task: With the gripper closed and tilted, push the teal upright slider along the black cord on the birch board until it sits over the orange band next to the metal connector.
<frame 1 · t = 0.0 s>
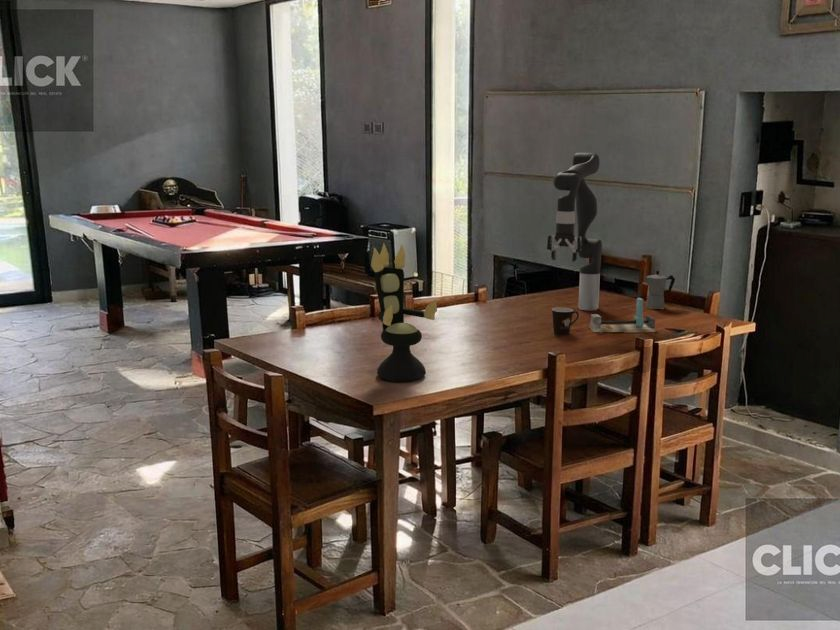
hand: (563, 260, 353), 29 cm above the table, tool pointing down, fingers open, 8 cm apart
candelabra: (397, 375, 292), on the table
cord board: (621, 330, 358), on the table
coffee mug: (565, 333, 352), on the table
coffeepot: (657, 308, 402), on the table
teal upright slider: (639, 312, 357), point 8 cm above the table, slide at 0.0 cm
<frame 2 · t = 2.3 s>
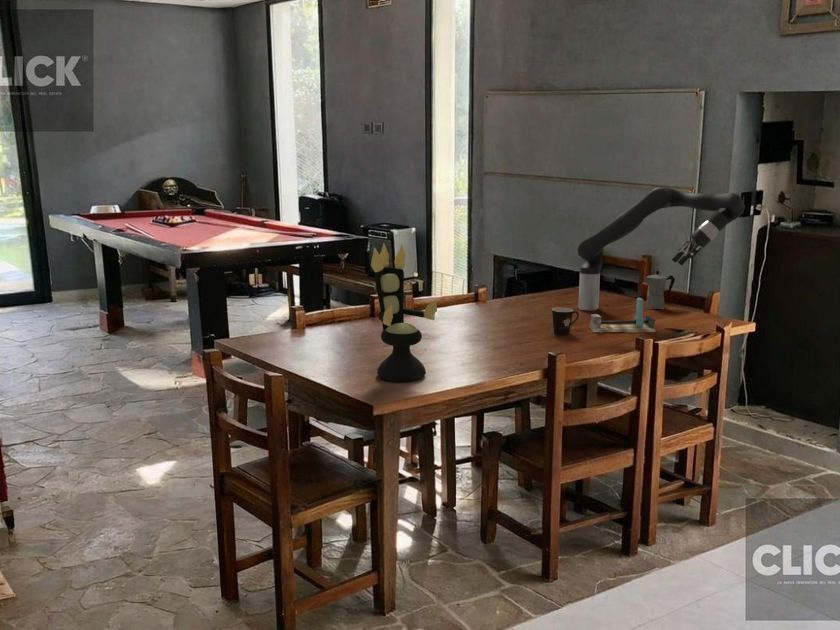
hand: (676, 262, 351), 29 cm above the table, tool tilted 45°, fingers open, 8 cm apart
nothing on the table moved.
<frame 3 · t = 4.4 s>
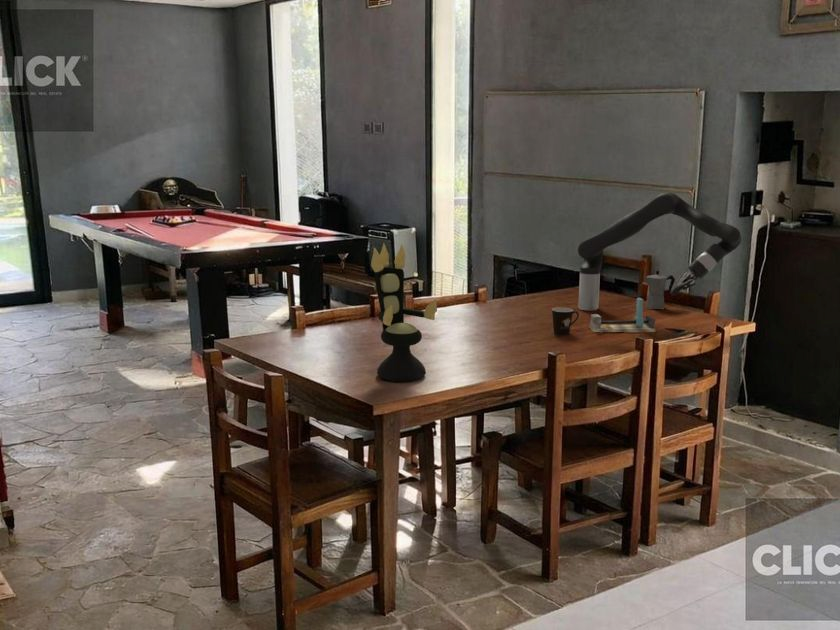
hand: (672, 294, 356), 15 cm above the table, tool tilted 45°, fingers closed
nothing on the table moved.
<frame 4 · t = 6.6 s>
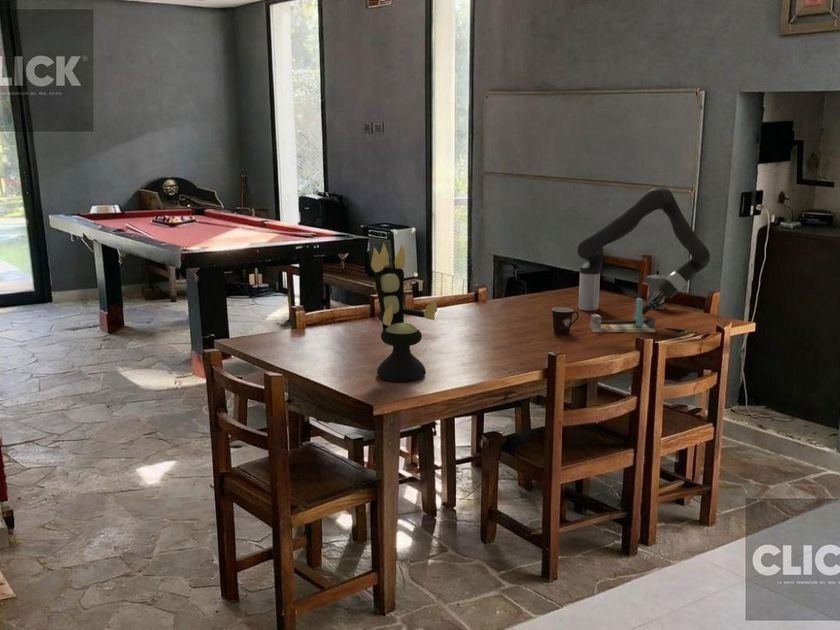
hand: (641, 313, 357), 7 cm above the table, tool tilted 45°, fingers closed
teal upright slider: (638, 312, 356), point 8 cm above the table, slide at 0.1 cm, touching gripper
everything else where it was.
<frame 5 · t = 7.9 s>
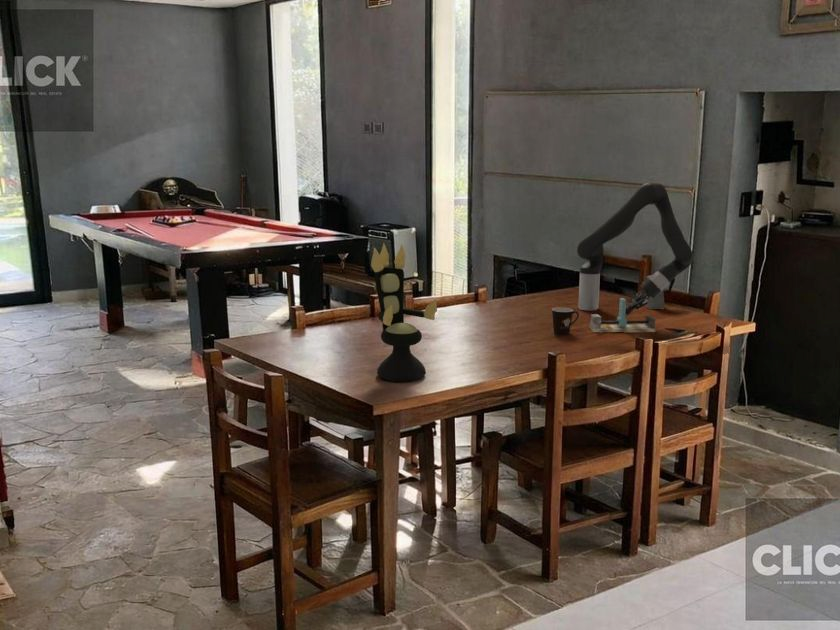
hand: (625, 313, 356), 7 cm above the table, tool tilted 45°, fingers closed
teal upright slider: (622, 312, 356), point 8 cm above the table, slide at 7.4 cm, touching gripper
everything else where it was.
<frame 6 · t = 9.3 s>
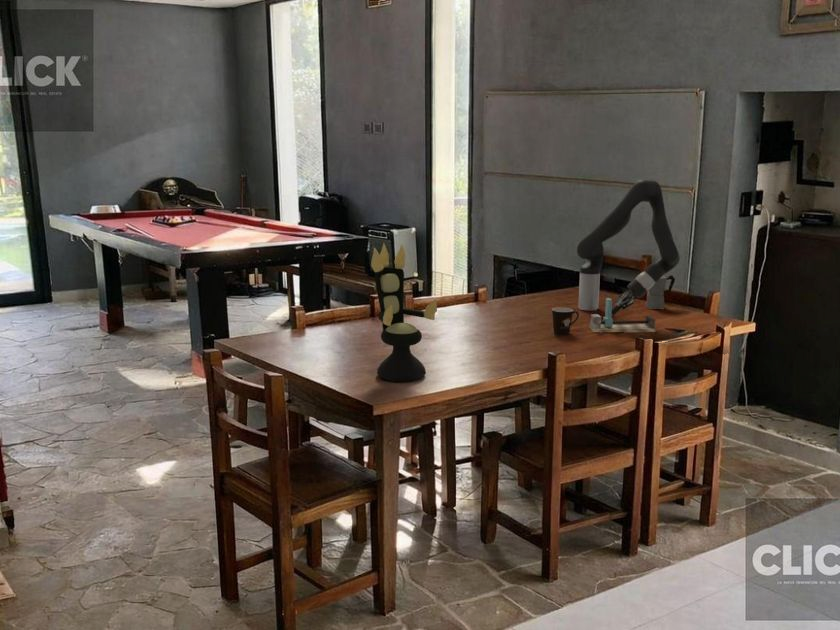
hand: (611, 313, 356), 7 cm above the table, tool tilted 45°, fingers closed
teal upright slider: (608, 312, 356), point 8 cm above the table, slide at 13.3 cm, touching gripper
everything else where it was.
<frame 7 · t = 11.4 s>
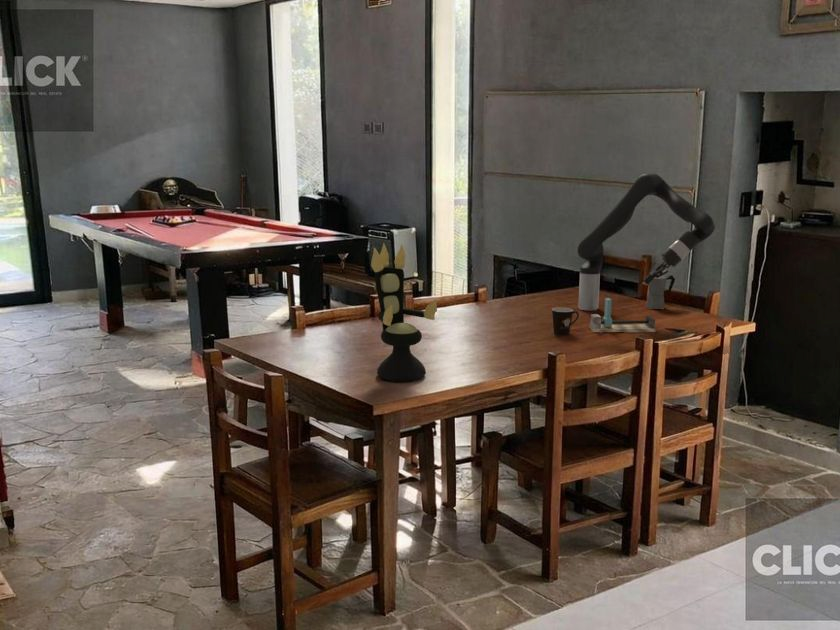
hand: (645, 282, 354), 20 cm above the table, tool tilted 45°, fingers closed
teal upright slider: (607, 312, 356), point 8 cm above the table, slide at 13.6 cm
everything else where it was.
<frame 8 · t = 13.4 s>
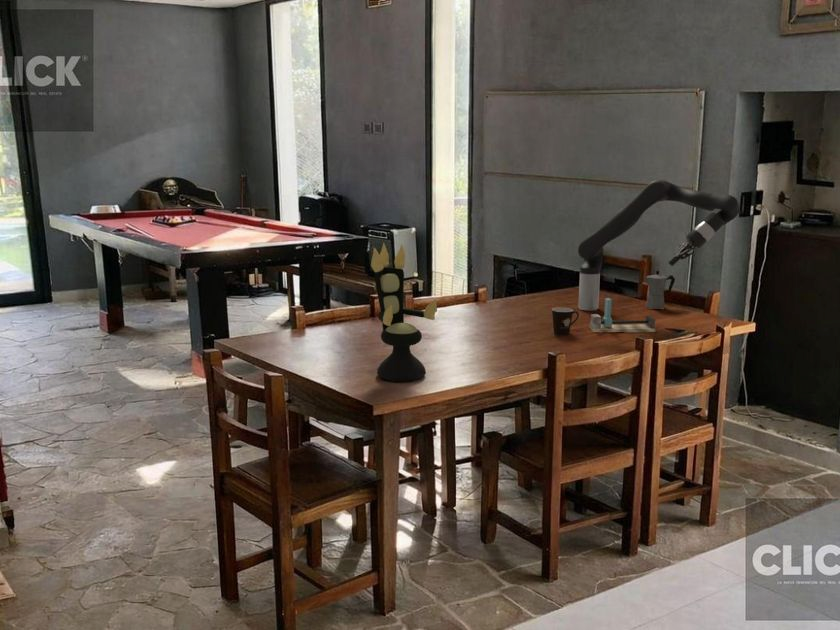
hand: (670, 264, 354), 28 cm above the table, tool tilted 45°, fingers closed
nothing on the table moved.
at the end: teal upright slider slide at 13.6 cm; coffee mug moved 0.2 cm from its start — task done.
